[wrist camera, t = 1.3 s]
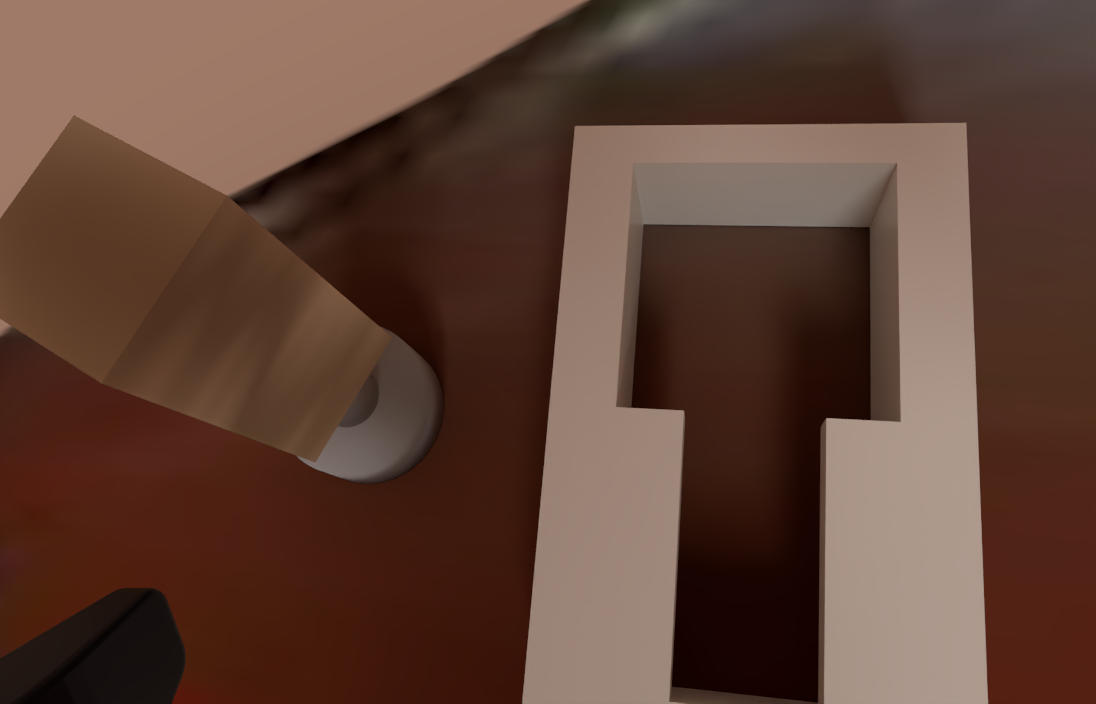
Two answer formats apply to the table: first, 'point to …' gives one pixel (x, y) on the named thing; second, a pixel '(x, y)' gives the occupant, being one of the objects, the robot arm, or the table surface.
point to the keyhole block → (846, 444)
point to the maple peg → (206, 312)
